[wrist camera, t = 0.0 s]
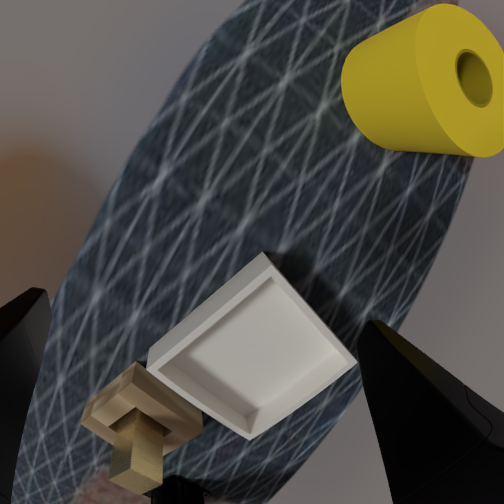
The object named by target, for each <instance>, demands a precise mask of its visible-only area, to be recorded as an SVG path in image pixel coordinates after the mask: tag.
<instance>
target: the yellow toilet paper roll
mask: <svg viewBox="0 0 504 504" xmlns="http://www.w3.org/2000/svg"><path fill="white" fill-rule="evenodd" d="M341 87H342V94H343V99H344V102H345V105H346V108H347V110H348V113H349V115H350V117H351V118H352V120H353V122H354V123H355V125H356V126H357V127H358V129H359V130H360V131H361V132H362V133H363V134H364V135H365V136H366V137H367V138H368V139H369V140H371V141H372V142H374V143H375V144H377V145H379V146H381V147H383V148H385V149H389V150H393V151H409V152H426V153H440V154H452V155H463V156H473V157H484V158H485V157H491V156H493V155H496V154H497V153H499V152H500V151H501V150H502V149H503V148H504V52H503V51H502V49H501V47H500V45H499V43H498V42H497V40H496V39H495V37H494V36H493V35H492V33H491V32H490V31H489V30H488V28H487V27H486V26H485V25H484V24H483V23H482V22H481V21H480V20H479V19H478V18H476V17H475V16H474V15H473V14H471V13H470V12H468V11H466V10H465V9H463V8H460V7H458V6H455V5H451V4H438V5H435V6H432V7H430V8H428V9H426V10H424V11H422V12H419V13H417V14H415V15H413V16H411V17H409V18H407V19H405V20H403V21H401V22H399V23H397V24H395V25H393V26H391V27H389V28H387V29H385V30H384V31H382V32H380V33H378V34H376V35H374V36H372V37H371V38H369V39H367V40H365V41H363V42H362V43H360V44H358V45H357V46H356V47H355V48H353V49H352V51H351V52H350V53H349V55H348V56H347V58H346V60H345V63H344V66H343V69H342V76H341Z"/></svg>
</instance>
